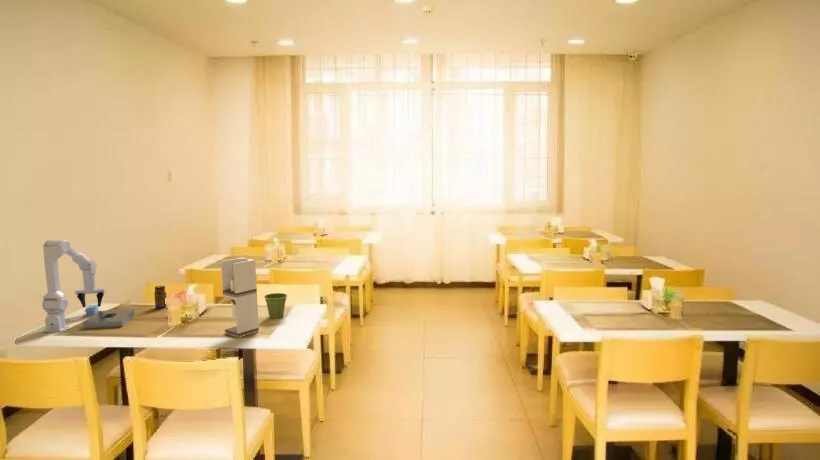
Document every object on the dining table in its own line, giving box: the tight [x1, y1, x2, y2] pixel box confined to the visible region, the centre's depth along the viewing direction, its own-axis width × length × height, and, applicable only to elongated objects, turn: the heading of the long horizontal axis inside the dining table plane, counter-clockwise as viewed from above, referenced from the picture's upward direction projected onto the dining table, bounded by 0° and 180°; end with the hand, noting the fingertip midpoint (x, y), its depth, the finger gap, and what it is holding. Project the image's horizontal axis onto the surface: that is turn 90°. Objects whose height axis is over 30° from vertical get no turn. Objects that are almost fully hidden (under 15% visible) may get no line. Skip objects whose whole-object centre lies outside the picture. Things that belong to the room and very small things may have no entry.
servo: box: [84, 304, 99, 317], centre depth 321 cm, size 11×4×4 cm, turn 10°
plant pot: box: [263, 292, 288, 319], centre depth 311 cm, size 12×12×11 cm
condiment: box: [152, 285, 167, 311], centre depth 331 cm, size 7×8×12 cm
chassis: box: [82, 308, 136, 330], centre depth 307 cm, size 22×18×3 cm
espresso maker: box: [220, 257, 260, 338], centre depth 283 cm, size 11×11×35 cm
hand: (91, 306), depth 321 cm, fingers open, 7 cm apart
